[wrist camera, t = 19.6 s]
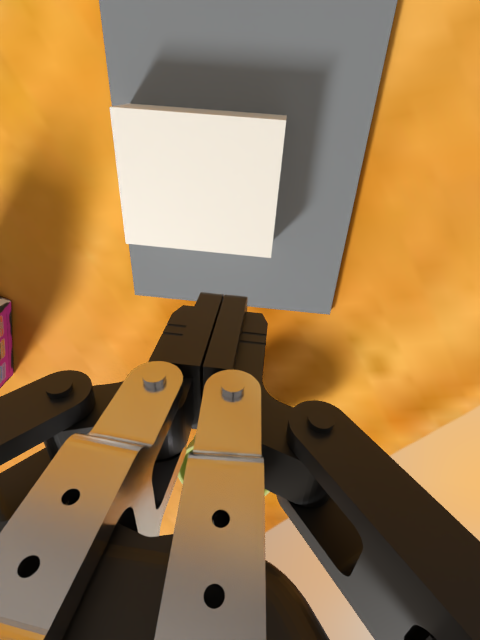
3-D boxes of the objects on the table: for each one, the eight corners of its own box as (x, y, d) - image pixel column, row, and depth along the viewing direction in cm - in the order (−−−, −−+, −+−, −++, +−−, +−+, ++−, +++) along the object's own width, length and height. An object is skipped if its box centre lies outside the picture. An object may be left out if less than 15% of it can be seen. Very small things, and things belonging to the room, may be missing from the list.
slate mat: (100, -19, 23) (96, -21, 23) (396, -6, 22) (399, -8, 21) (137, 291, 35) (135, 294, 35) (329, 311, 34) (329, 314, 34)
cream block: (286, 115, 25) (129, 103, 26) (286, 120, 22) (109, 106, 23) (272, 240, 30) (141, 227, 31) (270, 258, 27) (125, 243, 28)
